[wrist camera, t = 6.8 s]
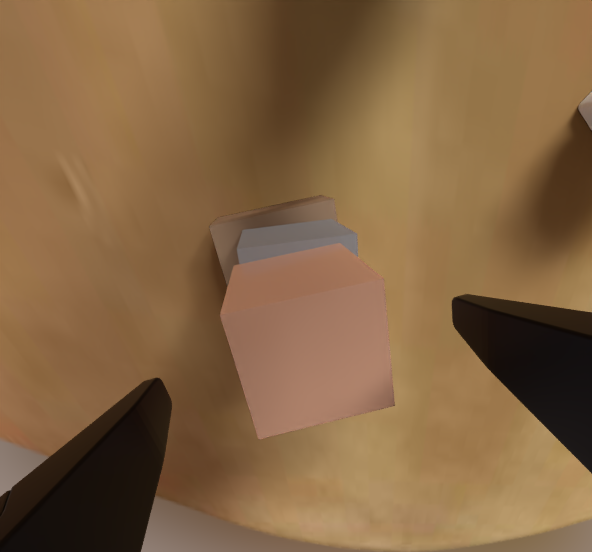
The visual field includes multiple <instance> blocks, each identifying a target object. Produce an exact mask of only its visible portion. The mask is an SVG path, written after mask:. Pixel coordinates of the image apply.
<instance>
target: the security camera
mask: <svg viewBox="0 0 592 552" xmlns="http://www.w3.org/2000/svg"><path fill="white" fill-rule="evenodd" d="M578 109H579V111H580V113H581V114H582V116H583V118H584V119H585V121H586V122H587V124H588V126H589V127H590V129H591V130H592V91H591V92H590V94H589V95H588V96H587V97H586V98H585V99H584V100H583V101H582V102H581V103H580V104H579V107H578Z"/></svg>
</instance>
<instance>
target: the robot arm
mask: <svg viewBox="0 0 592 552" xmlns="http://www.w3.org/2000/svg"><path fill="white" fill-rule="evenodd" d="M452 319H453V325H454V327H455V329H456V330H457V331H458V333H459V334H460V335H461V336H462V338H463V339H464V340H465V341H466V342H467V344H468V345H469V346H470V347H471V349H472V350H473V351H474V352H475V354H476V355H477V356H478V357H479V359H480V360H481V361H482V362H483V363H484V364H485V366H486V367H487V368H488V369H489V370H490V371H491V372H492V373H493V374H494V375H495V376H496V377H497V378H498V379H499V380H500V381H501V382H502V383H503V384H504V385H505V386H506V387H507V388H508V389H509V390H510V391H511V392H512V394H513V395H514V396H515V397H516V398H517V399H518V400H519V401H520V402H521V403H522V404H523V405H524V406H525V407H526V408H527V409H528V410H529V411H530V412H531V413H532V414H533V415H534V416H535V417H536V418H537V419H538V420H539V421H540V422H541V423H542V424H543V425H544V426H545V427H546V428H547V429H548V430H549V431H550V432H551V433H552V434H553V435H554V436H555V437H556V438H557V439H558V440H559V441H560V442H561V443H562V444H563V445H564V446H565V447H566V448H567V449H568V450H569V451H570V452H571V453H572V454H573V455H574V456H575V457H576V458H577V459H578V460H579V461H580V462H581V463H582V464H583V465H584V466H585V467H586V468H587V469H588V470H589V471H590V472H591V473H592V312H585V311H578V310H571V309H564V308H558V307H551V306H544V305H537V304H531V303H524V302H517V301H510V300H504V299H497V298H490V297H483V296H477V295H470V294H465V295H461V296H457V297H454V298H453V300H452ZM171 410H172V401H171V398H170V396H169V394H168V392H167V390H166V388H165V386H164V384H163V382H162V380H161V379H160V378H154V379H150V380H146V381H144V382H142V383H141V384H140V385H139V386H137V387H136V388H135V389H134V390H132V391H131V392H130V393H129V394H128V395H126V396H125V397H124V398H123V399H121V400H120V401H119V402H118V403H116V404H115V405H114V406H113V407H111V408H110V409H109V410H108V411H106V412H105V413H104V414H103V415H101V416H100V417H99V418H98V419H96V420H95V421H94V422H93V423H91V424H90V425H89V426H88V427H86V428H85V429H84V430H83V431H82V432H80V433H79V434H78V435H77V436H75V437H74V438H73V439H72V440H70V441H69V442H68V443H67V444H65V445H64V446H63V447H62V448H60V449H59V450H58V451H57V452H55V453H54V454H53V455H52V456H50V457H49V458H48V459H47V460H45V461H44V462H43V463H42V464H40V465H39V466H38V467H37V468H36V469H34V470H33V471H32V472H31V473H29V474H28V475H27V476H26V477H24V478H23V479H22V480H21V481H19V482H18V483H17V484H16V485H14V486H13V487H12V489H11V490H10V491H7V492H6V493H4V494H3V495H2V496H1V497H0V552H141V549H142V545H143V541H144V537H145V533H146V529H147V525H148V521H149V517H150V513H151V509H152V505H153V501H154V497H155V494H156V490H157V486H158V482H159V478H160V474H161V470H162V466H163V461H164V456H165V451H166V444H167V437H168V430H169V423H170V417H171Z"/></svg>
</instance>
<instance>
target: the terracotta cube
mask: <svg viewBox="0 0 592 552" xmlns="http://www.w3.org/2000/svg"><path fill="white" fill-rule="evenodd" d="M220 317H221V320H222V324H223V327H224V330H225V333H226V336H227V340H228V343H229V346H230V349H231V352H232V356H233V359H234V362H235V365H236V368H237V372H238V375H239V378H240V381H241V385H242V388H243V391H244V394H245V397H246V401H247V404H248V407H249V410H250V413H251V417H252V420H253V423H254V426H255V429H256V433H257V436H258V439H263V438H267V437H271V436H275V435H279V434H283V433H287V432H291V431H295V430H299V429H303V428H307V427H311V426H315V425H319V424H323V423H327V422H331V421H335V420H339V419H343V418H347V417H351V416H355V415H360V414H364V413H368V412H372V411H376V410H380V409H384V408H388V407H392V406H395V402H394V391H393V379H392V368H391V356H390V344H389V333H388V321H387V310H386V298H385V286H384V278H383V277H382V276H380V275H379V274H378V273H377V272H375V271H374V270H373V269H372V268H370V267H369V266H368V265H367V264H365V263H364V262H363V261H362V260H361V259H359V258H358V257H357V256H356V255H354V254H353V253H352V252H351V251H349V250H348V249H347V248H346V247H344V246H343V245H342V244H341V243H337V244H332V245H327V246H323V247H318V248H313V249H309V250H304V251H299V252H295V253H290V254H285V255H281V256H276V257H271V258H267V259H262V260H257V261H253V262H248V263H243V264H239V265H234V266H233V270H232V273H231V277H230V280H229V284H228V287H227V291H226V295H225V298H224V302H223V305H222V309H221V312H220Z"/></svg>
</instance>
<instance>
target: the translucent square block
mask: <svg viewBox="0 0 592 552" xmlns="http://www.w3.org/2000/svg"><path fill="white" fill-rule="evenodd" d="M327 219H333V220H334V221H336V222H337V215H336V208H335V202H334V199H333V198H329V197H326V196H322V195H319V196H314V197H310V198H305V199H300V200H296V201H291V202H287V203H282V204H277V205H273V206H268V207H264V208H259V209H254V210H250V211H245V212H241V213H236V214H231V215H227V216H222V217H218V218H217V219H216V220H215V221H214V222H213V223H212V224H211V225H210V226H209V228H210V232H211V235H212V238H213V241H214V245H215V248H216V251H217V255H218V258H219V261H220V264H221V268H222V271H223V274H224V278H225V281H226V284H227V287H228V284H229V280H230V277H231V273H232V270H233V266H234V265H239V259H238V254H237V247H238V243H239V240H240V237H241V234H242V230H246V229H254V228H262V227H270V226H278V225H286V224H295V223H303V222H311V221H319V220H327Z"/></svg>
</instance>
